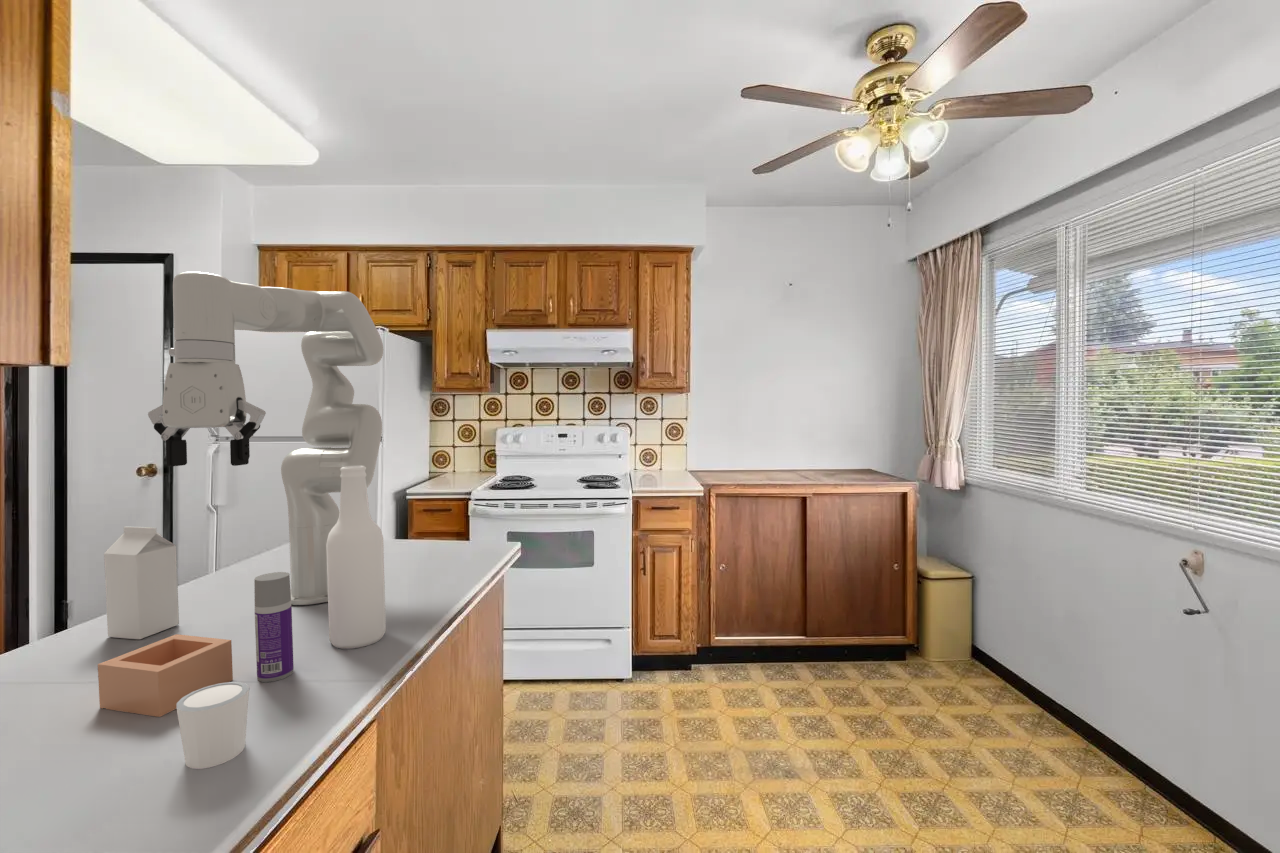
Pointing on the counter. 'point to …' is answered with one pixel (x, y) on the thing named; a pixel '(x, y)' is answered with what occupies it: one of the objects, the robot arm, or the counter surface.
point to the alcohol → (355, 568)
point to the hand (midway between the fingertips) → (208, 465)
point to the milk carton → (141, 584)
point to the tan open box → (163, 673)
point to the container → (273, 626)
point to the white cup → (213, 723)
